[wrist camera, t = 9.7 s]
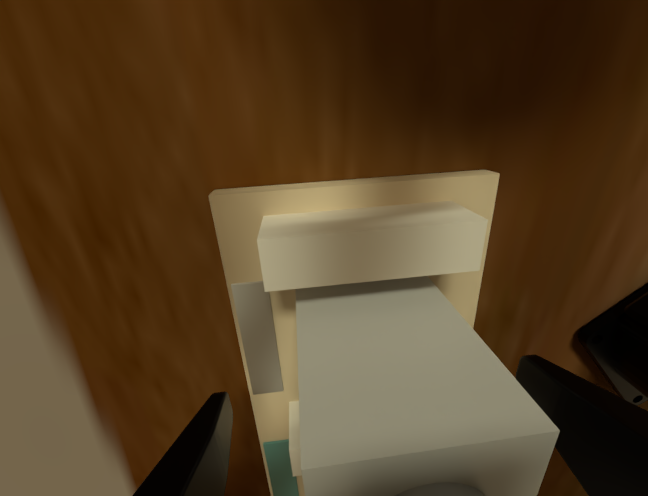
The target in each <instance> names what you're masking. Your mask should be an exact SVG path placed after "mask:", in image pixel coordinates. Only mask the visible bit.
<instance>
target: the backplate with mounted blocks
mask: <svg viewBox="0 0 648 496" xmlns="http://www.w3.org/2000/svg"><path fill="white" fill-rule="evenodd" d="M499 176H500V173H496V172H492V171H489V170H472V171H458V172H445V173H432V174H418V175H405V176H392V177H378V178H365V179H352V180H338V181H325V182H312V183H298V184H285V185H272V186H258V187H245V188H232V189H218V190H214V191H213V192H212V193H211V194H210V195H209V201H210V206H211V211H212V215H213V220H214V225H215V230H216V235H217V239H218V244H219V249H220V254H221V259H222V263H223V268H224V273H225V278H226V283H227V287H228V292H229V297H230V302H231V307H232V311H233V316H234V321H235V326H236V331H237V336H238V340H239V345H240V350H241V355H242V360H243V364H244V369H245V374H246V379H247V384H248V388H249V393H250V398H251V403H252V408H253V412H254V417H255V422H256V427H257V432H258V436H259V441H260V446H261V451H262V456H263V461H264V465H265V470H266V475H267V480H268V485H269V489H270V494H271V496H305V491H304V484H303V478H302V472H301V448H300V417H299V386H298V355H297V324H296V293H295V289H300V288H310V287H320V286H330V285H340V284H350V283H360V282H370V281H380V280H390V279H400V278H410V277H420V276H428V277H429V278H430V280H431V281H432V282H433V283H434V284H435V285H436V287H437V288H438V289H439V290H440V291H441V292H442V294H443V295H444V296H445V297H446V298H447V299H448V301H449V302H450V303H451V304H452V305H453V306H454V308H455V309H456V310H457V311H458V312H459V313H460V315H461V316H462V317H463V318H464V319H465V320H466V322H467V323H468V324H469V325H470V326H471V327H472V329H473V326H474V320H475V315H476V309H477V303H478V297H479V292H480V286H481V280H482V274H483V268H484V263H485V257H486V251H487V245H488V240H489V234H490V228H491V222H492V216H493V211H494V205H495V199H496V193H497V188H498V182H499Z"/></svg>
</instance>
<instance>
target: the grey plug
mask: <svg viewBox="0 0 648 496" xmlns="http://www.w3.org/2000/svg"><path fill="white" fill-rule="evenodd" d="M295 293H296V324H297V355H298V386H299V417H300V448H301V472H302V478H303V484H304V491H305V496H537V494H538V491H539V488H540V486H541V483H542V480H543V477H544V474H545V472H546V469H547V466H548V463H549V460H550V458H551V455H552V452H553V449H554V446H555V443H556V441H557V438H558V435H559V432H560V430H559V429H558V428H557V427H556V425H555V424H554V423H553V422H552V421H551V420H550V418H549V417H548V416H547V415H546V414H545V413H544V411H543V410H542V409H541V408H540V407H539V406H538V404H537V403H536V402H535V401H534V400H533V399H532V397H531V396H530V395H529V394H528V393H527V392H526V390H525V389H524V388H523V387H522V386H521V385H520V383H519V382H518V381H517V380H516V379H515V378H514V376H513V375H512V374H511V373H510V372H509V371H508V369H507V368H506V367H505V366H504V365H503V364H502V362H501V361H500V360H499V359H498V358H497V357H496V355H495V354H494V353H493V352H492V351H491V350H490V348H489V347H488V346H487V345H486V344H485V343H484V341H483V340H482V339H481V338H480V337H479V336H478V334H477V333H476V332H475V331H474V330H473V329H472V327H471V326H470V325H469V324H468V323H467V322H466V320H465V319H464V318H463V317H462V316H461V315H460V313H459V312H458V311H457V310H456V309H455V308H454V306H453V305H452V304H451V303H450V302H449V301H448V299H447V298H446V297H445V296H444V295H443V294H442V292H441V291H440V290H439V289H438V288H437V287H436V285H435V284H434V283H433V282H432V281H431V280H430V278H429V277H428V276H420V277H410V278H400V279H390V280H380V281H370V282H360V283H350V284H340V285H330V286H320V287H310V288H300V289H295Z"/></svg>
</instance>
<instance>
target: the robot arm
mask: <svg viewBox="0 0 648 496" xmlns="http://www.w3.org/2000/svg"><path fill="white" fill-rule="evenodd" d="M578 338H579V341H580V342H581V344H582V345H583V346H584V348H585V349H586V351H587V352H588V353H589V355H590V356H591V358H592V359H593V360H594V362H595V363H596V364H597V366H598V367H599V369H600V370H601V371H602V373H603V374H604V376H605V377H606V378H607V380H608V381H609V382H610V384H611V385H612V387H613V388H614V389H615V391H616V392H617V394H618V395H619V396H620V397H618V396H616V395H615V394H613V393H611V392H609V391H607V390H605V389H603V388H601V387H599V386H597V385H595V384H593V383H591V382H589V381H587V380H585V379H583V378H581V377H579V376H577V375H575V374H573V373H571V372H569V371H567V370H565V369H563V368H561V367H559V366H557V365H555V364H553V363H551V362H549V361H547V360H545V359H543V358H541V357H540V356H537V355H526V356H522V357H521V358H520V361H519V365H518V369H517V372H516V380H517V381H518V382H519V383H520V385H521V386H522V387H523V388H524V389H525V390H526V392H527V393H528V394H529V395H530V396H531V397H532V399H533V400H534V401H535V402H536V403H537V404H538V406H539V407H540V408H541V409H542V410H543V411H544V413H545V414H546V415H547V416H548V417H549V418H550V420H551V421H552V422H553V423H554V424H555V425H556V427H557V428H558V429H559V430H560V432H559V435H558V438H557V441H556V443H555V447H556V449H557V450H558V452H559V453H560V455H561V456H562V458H563V459H564V460H565V462H566V463H567V465H568V466H569V468H570V469H571V471H572V472H573V474H574V475H575V476H576V478H577V479H578V481H579V482H580V484H581V485H582V487H583V488H584V490H585V491H586V493H587V494H588V495H589V496H648V411H646V410H644V409H642V408H640V407H638V406H637V405H640V404H642V403H643V402H645V401H647V400H648V285H647V286H646V287H644V288H643V289H641V290H640V291H638V292H637V293H635V294H634V295H632V296H631V297H629V298H628V299H626V300H625V301H623V302H622V303H620V304H619V305H617V306H616V307H614V308H613V309H611V310H610V311H608V312H607V313H606V314H604V315H603V316H601V317H600V318H598V319H597V320H595V321H594V322H592V323H591V324H589V325H588V326H586V327H585V328H584V329H582V330H581V332H580V333H579V336H578ZM232 423H233V411H232V407H231V403H230V399H229V395H228V393H227V392H218V393H213V394H212V395H211V396H210V397H209V398H208V400H207V401H206V402H205V404H204V405H203V406H202V407H201V409H200V410H199V411H198V413H197V414H196V415H195V416H194V418H193V419H192V420H191V421H190V423H189V424H188V425H187V427H186V428H185V429H184V430H183V432H182V433H181V434H180V436H179V437H178V438H177V439H176V441H175V442H174V443H173V444H172V446H171V447H170V448H169V450H168V451H167V452H166V453H165V455H164V456H163V457H162V459H161V460H160V461H159V462H158V464H157V465H156V466H155V467H154V469H153V470H152V471H151V473H150V474H149V475H148V476H147V478H146V479H145V480H144V481H143V483H142V484H141V485H140V487H139V488H138V489H137V490H136V492H135V493H134V494H133V496H224V492H225V487H226V481H227V474H228V465H229V454H230V444H231V433H232Z"/></svg>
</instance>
